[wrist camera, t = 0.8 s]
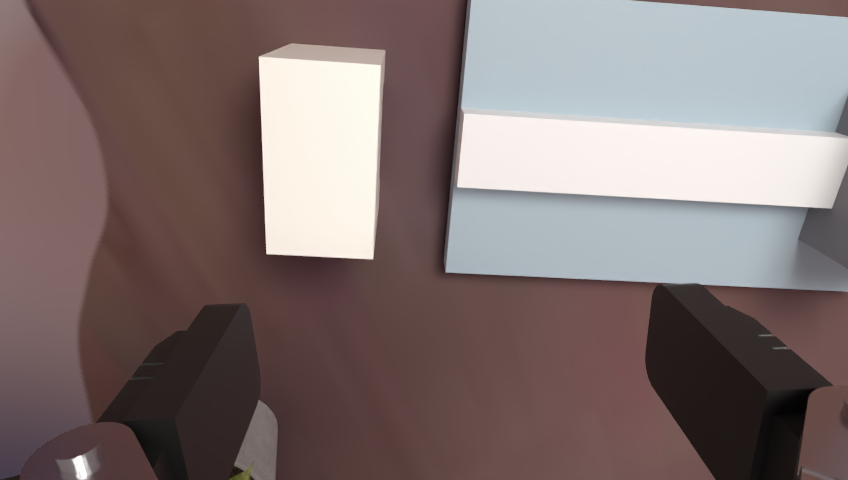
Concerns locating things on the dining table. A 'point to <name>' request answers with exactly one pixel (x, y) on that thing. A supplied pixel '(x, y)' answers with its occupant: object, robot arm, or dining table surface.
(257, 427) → the house plant
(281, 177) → the din module
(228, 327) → the robot arm
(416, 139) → the dining table surface
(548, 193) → the rail board
